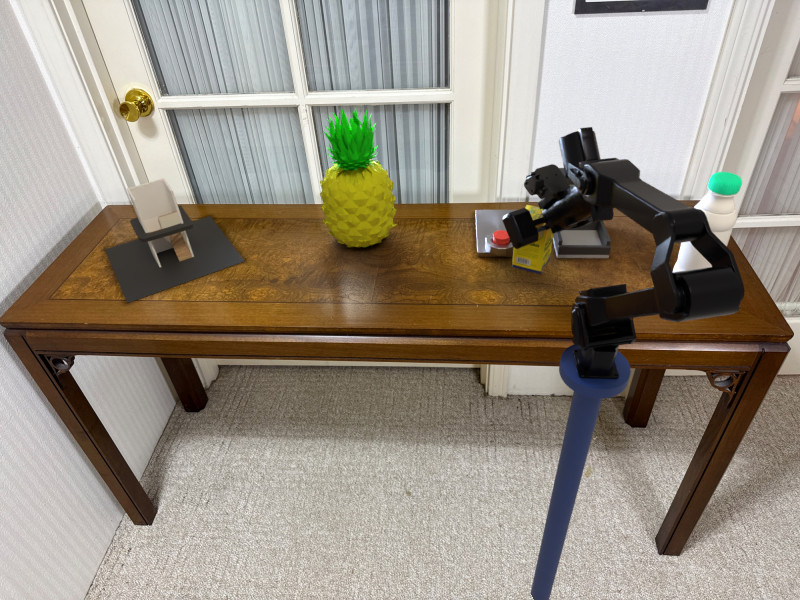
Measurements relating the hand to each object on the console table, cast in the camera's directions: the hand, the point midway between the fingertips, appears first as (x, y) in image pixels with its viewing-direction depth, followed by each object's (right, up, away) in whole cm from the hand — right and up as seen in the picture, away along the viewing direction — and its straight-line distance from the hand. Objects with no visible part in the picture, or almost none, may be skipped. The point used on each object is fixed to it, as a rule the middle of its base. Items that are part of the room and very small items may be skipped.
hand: (529, 231), depth 107 cm
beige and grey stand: (-76, -3, +20) cm, 78 cm away
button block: (-2, +2, +21) cm, 21 cm away
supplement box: (+1, -6, +3) cm, 7 cm away
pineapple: (-33, +1, +22) cm, 40 cm away
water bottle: (+30, -13, +1) cm, 32 cm away
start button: (-3, -1, +13) cm, 14 cm away
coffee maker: (+14, 0, +17) cm, 22 cm away
